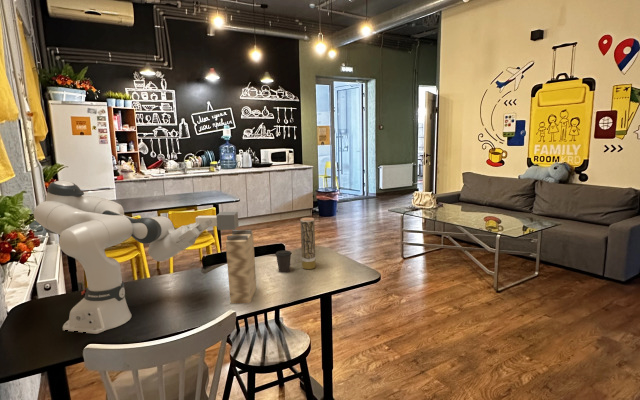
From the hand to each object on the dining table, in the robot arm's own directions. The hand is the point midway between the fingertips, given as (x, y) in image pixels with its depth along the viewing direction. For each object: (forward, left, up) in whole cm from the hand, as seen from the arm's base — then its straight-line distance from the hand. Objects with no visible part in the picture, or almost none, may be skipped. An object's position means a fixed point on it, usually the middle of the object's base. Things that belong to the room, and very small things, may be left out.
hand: (212, 219), depth 156 cm
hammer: (+2, 0, -3) cm, 4 cm away
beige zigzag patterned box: (+11, +1, -33) cm, 35 cm away
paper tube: (+37, +33, -34) cm, 59 cm away
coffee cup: (+25, +29, -34) cm, 51 cm away
